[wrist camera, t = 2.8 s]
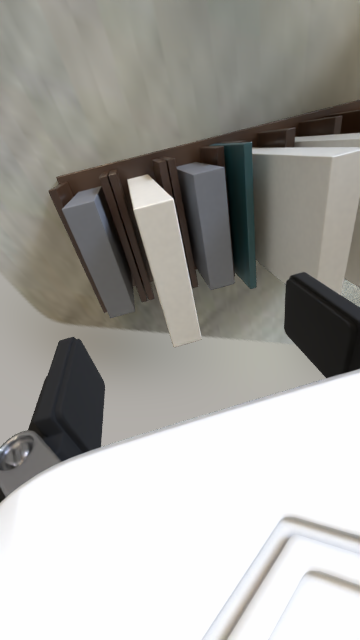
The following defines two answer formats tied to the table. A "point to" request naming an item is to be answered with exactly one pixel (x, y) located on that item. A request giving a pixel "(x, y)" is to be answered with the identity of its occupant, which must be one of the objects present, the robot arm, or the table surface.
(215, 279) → the grey book
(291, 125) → the book rack
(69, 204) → the grey book
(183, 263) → the white book
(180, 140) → the table surface
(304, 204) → the white book
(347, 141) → the white book
